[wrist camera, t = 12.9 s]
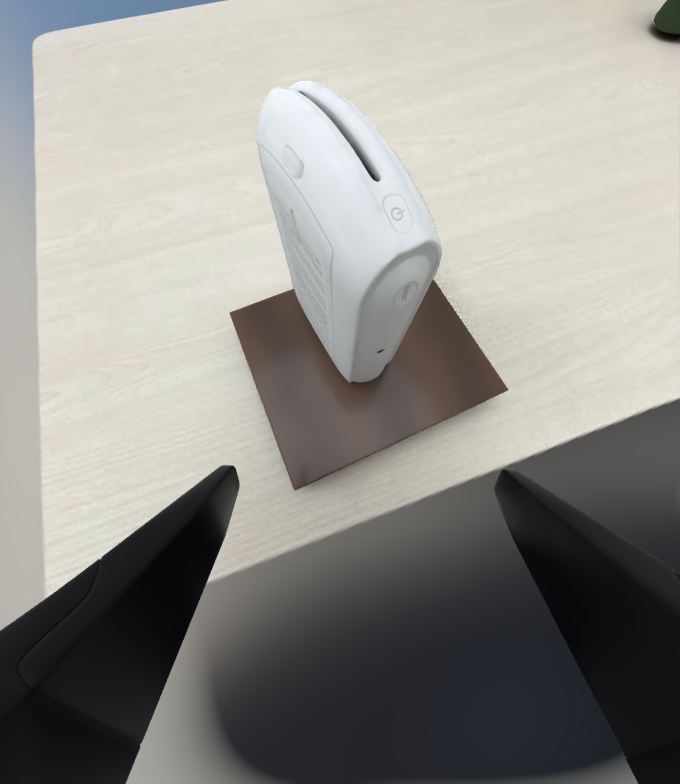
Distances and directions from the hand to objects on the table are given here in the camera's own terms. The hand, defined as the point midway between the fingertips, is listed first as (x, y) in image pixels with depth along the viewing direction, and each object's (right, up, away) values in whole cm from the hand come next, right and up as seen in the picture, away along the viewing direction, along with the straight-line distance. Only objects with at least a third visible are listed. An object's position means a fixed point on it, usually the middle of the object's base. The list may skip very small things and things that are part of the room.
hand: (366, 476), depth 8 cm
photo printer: (-1, +8, +11) cm, 14 cm away
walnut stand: (+1, +6, +13) cm, 14 cm away
